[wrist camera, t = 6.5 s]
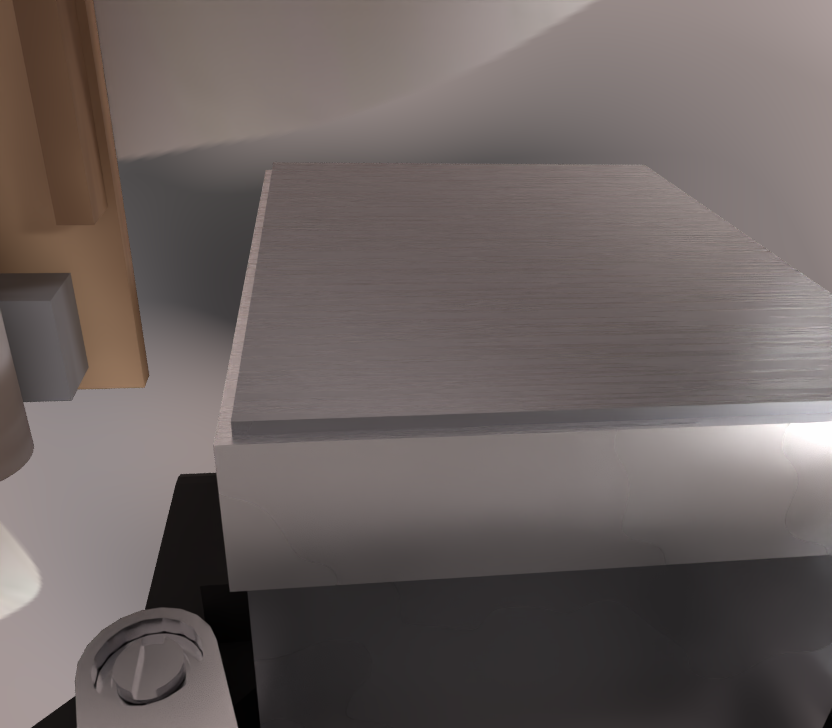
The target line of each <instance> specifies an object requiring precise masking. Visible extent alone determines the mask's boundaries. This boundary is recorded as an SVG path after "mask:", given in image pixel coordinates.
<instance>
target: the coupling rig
mask: <svg viewBox="0 0 832 728" xmlns="http://www.w3.org/2000/svg"><path fill="white" fill-rule="evenodd" d="M128 238H129V237H128V231H127V224H126V217H125V211H124V205H123V197H122V191H121V185H120V177H119V170H118V164H117V157H116V150H115V144H114V137H113V130H112V124H111V117H110V110H109V104H108V97H107V90H106V84H105V77H104V70H103V64H102V57H101V50H100V43H99V37H98V30H97V23H96V17H95V10H94V3H93V0H0V481H2V480H4V479H6V478H8V477H9V476H11V475H13V474H14V473H15V472H17V471H18V470H20V469H21V468H22V467H23V466H24V465H25V464H26V463H27V462H28V460H29V459H30V457H31V455H32V453H33V449H34V444H33V440H32V436H31V432H30V428H29V424H28V420H27V416H26V412H25V408H24V404H23V402H37V401H38V402H40V401H71V400H72V399H73V397H74V395H75V393H76V391H77V389H110V388H143V387H145V385H146V382H147V380H148V377H149V371H148V364H147V358H146V351H145V345H144V338H143V332H142V324H141V318H140V311H139V305H138V298H137V292H136V284H135V277H134V271H133V265H132V257H131V251H130V244H129V239H128Z"/></svg>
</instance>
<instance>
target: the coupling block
mask: <svg viewBox="0 0 832 728" xmlns="http://www.w3.org/2000/svg"><path fill="white" fill-rule="evenodd" d="M213 447H214V456H215V464H216V474H217V482H218V491H219V500H220V509H221V518H222V526H223V535H224V544H225V553H226V561H227V570H228V579H229V588H230V592H236V591H247V593H248V603H249V613H250V623H251V634H252V644H253V654H254V664H255V674H256V684H257V694H258V705H259V715H260V725H261V728H823V725H824V723H825V721H826V719H827V717H828V715H829V713H830V711H831V709H832V294H831V293H830V292H828V291H827V290H825V289H824V288H822V287H821V286H819V285H818V284H817V283H815V282H814V281H812V280H811V279H809V278H808V277H806V276H805V275H803V274H802V273H801V272H799V271H798V270H796V269H795V268H793V267H792V266H790V265H789V264H788V263H786V262H785V261H783V260H782V259H780V258H779V257H777V256H776V255H774V254H773V253H772V252H770V251H768V250H767V249H766V248H764V247H763V246H761V245H760V244H758V243H757V242H756V241H754V240H753V239H751V238H750V237H748V236H747V235H745V234H744V233H742V232H741V231H739V230H738V229H737V228H735V227H734V226H732V225H731V224H729V223H728V222H727V221H725V220H723V219H722V218H720V217H719V216H718V215H716V214H715V213H713V212H712V211H711V210H709V209H708V208H706V207H705V206H703V205H702V204H700V203H699V202H698V201H696V200H695V199H693V198H692V197H690V196H689V195H687V194H686V193H684V192H683V191H682V190H680V189H679V188H677V187H676V186H674V185H673V184H671V183H670V182H669V181H667V180H666V179H664V178H663V177H661V176H660V175H658V174H657V173H655V172H654V171H653V170H651V169H649V168H648V167H647V166H645V165H581V164H580V165H579V164H576V165H575V164H573V165H572V164H571V165H570V164H569V165H568V164H566V165H565V164H428V163H422V164H421V163H420V164H419V163H275V162H274V163H273V167H272V170H266V172H265V177H264V183H263V188H262V193H261V198H260V204H259V209H258V214H257V219H256V225H255V230H254V235H253V240H252V245H251V251H250V256H249V261H248V266H247V272H246V277H245V282H244V287H243V293H242V298H241V303H240V309H239V314H238V319H237V324H236V329H235V335H234V340H233V345H232V351H231V356H230V361H229V366H228V371H227V377H226V382H225V387H224V392H223V398H222V403H221V408H220V413H219V419H218V424H217V429H216V434H215V440H214V445H213Z"/></svg>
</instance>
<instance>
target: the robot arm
mask: <svg viewBox="0 0 832 728" xmlns="http://www.w3.org/2000/svg"><path fill="white" fill-rule="evenodd" d="M75 693H76V696H75V697H73V698H72V699H70V700H69V701H68V702H66V703H65V704H63V705H62V706H61V707H59V708H58V709H56V710H55V711H54V712H52V713H51V714H50V715H48V716H47V717H46V718H44V719H43V720H41V721H40V722H38V723H37V724H36V725H35V726H33V727H32V728H261V725H260V715H259V705H258V694H257V684H256V674H255V664H254V654H253V644H252V634H251V623H250V613H249V603H248V593H247V591H236V592H230V588H229V579H228V570H227V561H226V553H225V544H224V535H223V526H222V518H221V509H220V500H219V491H218V482H217V474H216V473H200V474H181V475H180V476H179V477H178V480H177V482H176V485H175V490H174V494H173V498H172V502H171V506H170V510H169V514H168V518H167V522H166V526H165V530H164V535H163V538H162V543H161V547H160V551H159V555H158V559H157V563H156V567H155V571H154V575H153V579H152V584H151V587H150V592H149V595H148V600H147V604H146V608H145V610H141V611H139V612H136V613H133V614H131V615H128V616H125V617H123V618H120V619H119V620H117V621H116V622H114V623H112V624H111V625H109V626H108V627H106V628H105V629H103V630H102V631H101V632H100V633H99V634H98V635H97V636H96V637H95V638H94V639H93V640H92V641H91V642H90V643H89V644H88V645H87V647H86V649H85V650H84V653H83V654H82V656H81V658H80V660H79V661H78V665H77V671H76V677H75ZM823 728H832V709H831V711H830V713H829V715H828V717H827V719H826V721H825V723H824V725H823Z"/></svg>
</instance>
